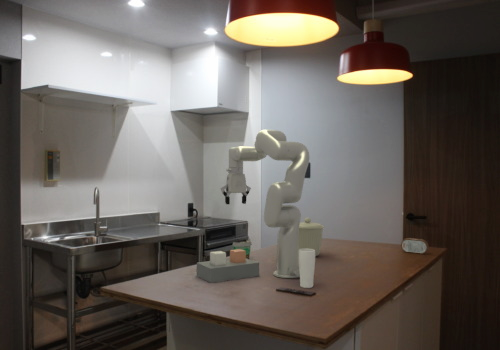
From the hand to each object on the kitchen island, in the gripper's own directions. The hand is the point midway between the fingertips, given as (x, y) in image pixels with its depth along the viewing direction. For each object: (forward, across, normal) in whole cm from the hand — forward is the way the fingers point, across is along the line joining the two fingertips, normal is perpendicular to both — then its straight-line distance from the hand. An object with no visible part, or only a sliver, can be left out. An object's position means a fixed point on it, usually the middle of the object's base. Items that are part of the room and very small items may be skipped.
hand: (235, 203), depth 233 cm
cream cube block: (+24, -24, -29) cm, 45 cm away
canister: (+30, +41, -7) cm, 51 cm away
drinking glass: (+30, 0, -60) cm, 67 cm away
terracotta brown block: (+24, -14, -29) cm, 40 cm away
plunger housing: (+30, -20, -29) cm, 46 cm away
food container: (+30, +4, -2) cm, 30 cm away
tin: (+30, +100, -31) cm, 109 cm away
